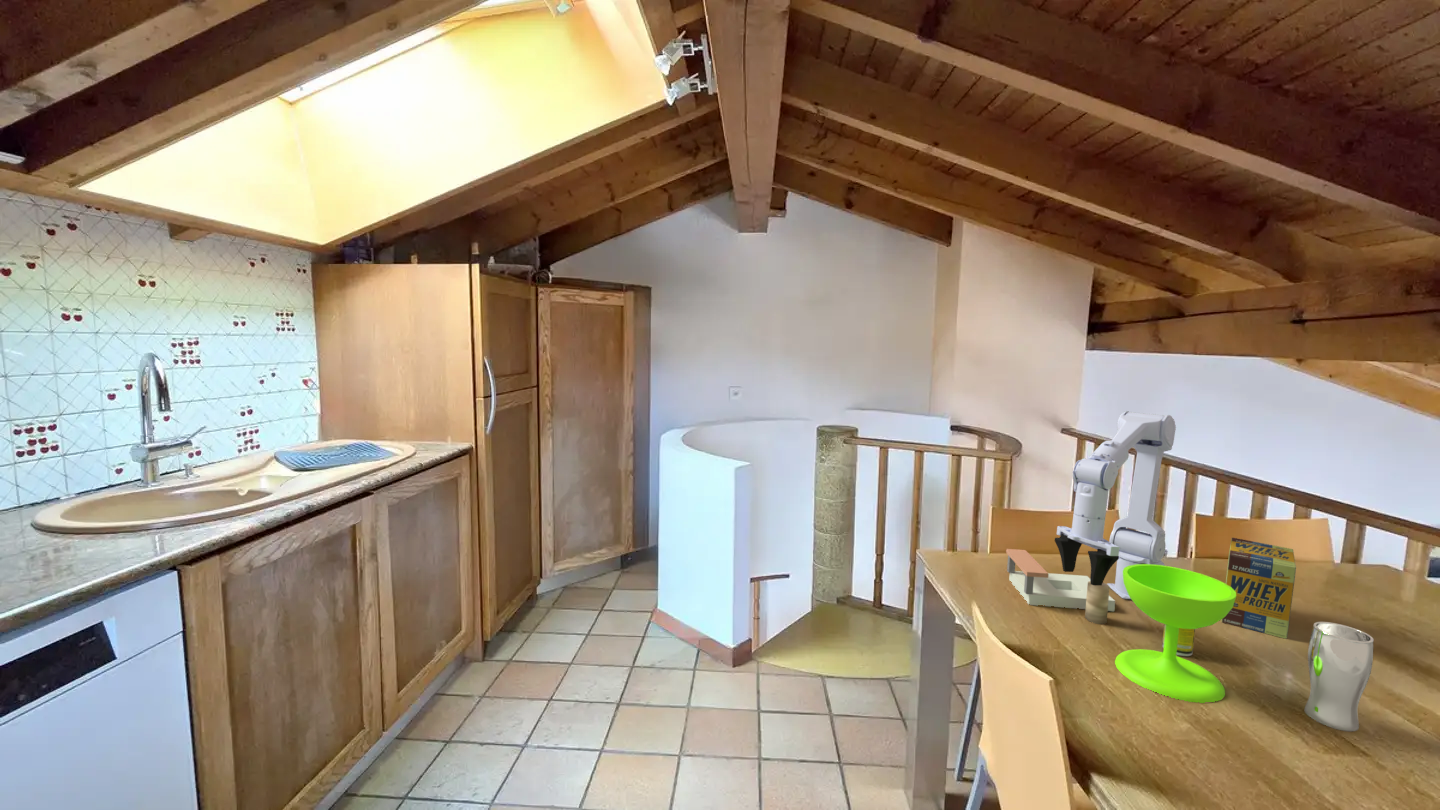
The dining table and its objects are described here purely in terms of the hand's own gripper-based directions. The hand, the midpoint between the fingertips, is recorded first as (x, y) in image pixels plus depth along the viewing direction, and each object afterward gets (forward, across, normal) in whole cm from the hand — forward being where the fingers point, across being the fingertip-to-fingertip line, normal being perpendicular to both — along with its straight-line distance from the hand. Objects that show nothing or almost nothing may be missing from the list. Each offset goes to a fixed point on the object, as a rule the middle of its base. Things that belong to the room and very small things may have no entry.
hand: (1081, 577), depth 124 cm
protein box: (+8, +4, +41) cm, 42 cm away
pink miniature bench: (+7, -16, 0) cm, 17 cm away
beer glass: (+10, +35, +16) cm, 40 cm away
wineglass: (+11, +20, +2) cm, 23 cm away
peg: (+10, -1, +6) cm, 11 cm away
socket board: (+9, -13, +7) cm, 18 cm away
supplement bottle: (+10, +13, +12) cm, 20 cm away
